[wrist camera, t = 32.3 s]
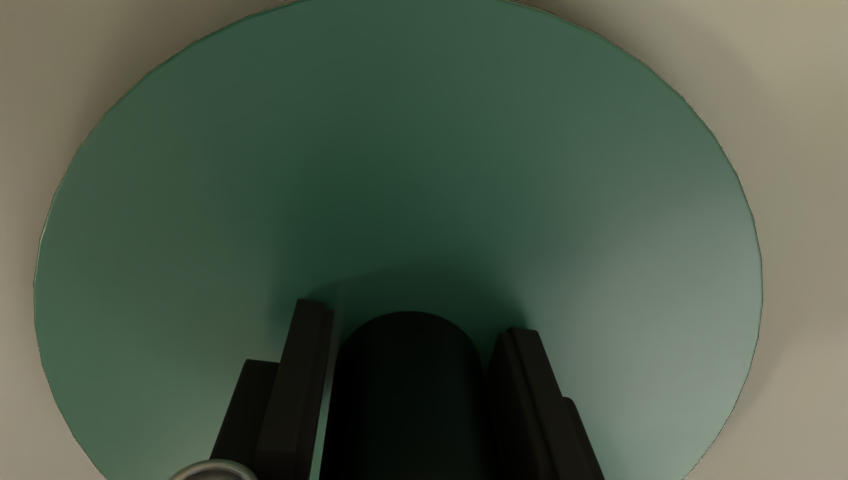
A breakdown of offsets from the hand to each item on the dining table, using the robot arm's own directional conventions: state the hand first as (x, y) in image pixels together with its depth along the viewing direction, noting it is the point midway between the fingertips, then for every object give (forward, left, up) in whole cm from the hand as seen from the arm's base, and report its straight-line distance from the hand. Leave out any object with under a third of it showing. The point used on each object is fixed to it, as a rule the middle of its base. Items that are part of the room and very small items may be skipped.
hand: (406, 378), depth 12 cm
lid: (0, 0, -1) cm, 1 cm away
